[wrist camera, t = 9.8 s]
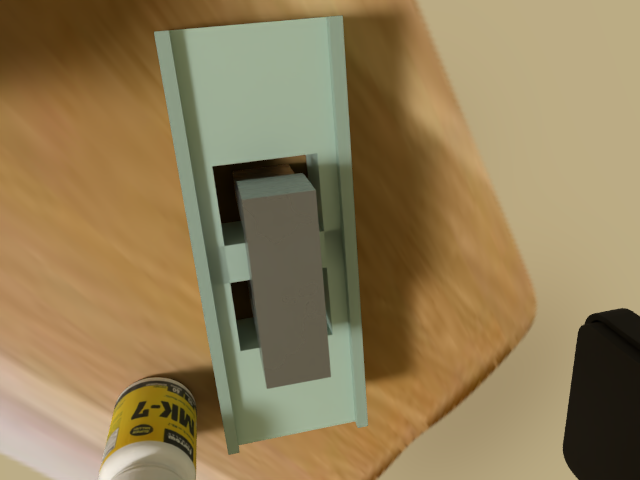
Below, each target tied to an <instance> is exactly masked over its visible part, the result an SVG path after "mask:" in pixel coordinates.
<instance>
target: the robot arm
mask: <svg viewBox="0 0 640 480" xmlns="http://www.w3.org/2000/svg"><path fill="white" fill-rule="evenodd" d="M563 454H564V458H565V461H566V463H567V465H568V467H569V468H570V470H571V471H572V472H573V473H574V475H575V476H576V477H577V478H578V479H579V480H640V316H638V315H637V314H635V313H634V312H633V311H631V310H628V309H623V308H621V309H616V310H610V311H605V312H600V313H595V314H592V315H590V316H589V317H588V318H587V319H586V322H585V325H583V326H581V327H580V329H579V331H578V337H577V344H576V352H575V360H574V366H573V374H572V381H571V389H570V396H569V404H568V412H567V420H566V427H565V434H564V441H563Z"/></svg>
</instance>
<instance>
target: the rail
mask: <svg viewBox="0 0 640 480" xmlns="http://www.w3.org/2000/svg"><path fill="white" fill-rule="evenodd" d="M154 35H155V41H156V47H157V52H158V58H159V64H160V69H161V75H162V81H163V86H164V92H165V98H166V103H167V109H168V115H169V120H170V126H171V132H172V137H173V143H174V149H175V154H176V160H177V166H178V171H179V177H180V183H181V188H182V194H183V200H184V205H185V211H186V217H187V222H188V228H189V234H190V239H191V245H192V251H193V256H194V262H195V268H196V273H197V279H198V285H199V290H200V296H201V302H202V307H203V313H204V319H205V324H206V330H207V336H208V341H209V347H210V353H211V358H212V364H213V370H214V375H215V381H216V387H217V392H218V398H219V404H220V409H221V415H222V421H223V426H224V432H225V438H226V443H227V449H228V455H230V454H235V453H239V445H242V444H247V443H252V442H257V441H261V440H266V439H271V438H276V437H281V436H286V435H291V434H295V433H300V432H305V431H310V430H315V429H320V428H325V427H330V426H334V425H339V424H344V423H349V422H354V421H355V422H356V425H357V427H358V428H360V427H365V426H368V419H367V403H366V387H365V371H364V355H363V338H362V322H361V306H360V290H359V273H358V257H357V241H356V225H355V209H354V192H353V176H352V160H351V144H350V127H349V111H348V95H347V79H346V62H345V46H344V30H343V16H331V17H320V18H309V19H297V20H285V21H274V22H262V23H251V24H239V25H227V26H216V27H204V28H193V29H181V30H169V31H157V32H154ZM299 155H306V162H307V173H308V180H309V182H310V183H311V184H312V186H313V187H314V188H315V190H316V198H317V211H318V223H319V235H320V247H321V259H322V272H323V284H324V296H325V308H326V320H327V333H328V345H329V357H330V369H331V377H328V378H323V379H318V380H313V381H307V382H302V383H297V384H291V385H286V386H281V387H275V388H270V389H267V387H266V382H265V377H264V372H263V367H262V362H261V357H260V351H259V344H258V338H257V333H256V328H255V323H254V318H253V317H251V318H245V319H239V320H236V315H235V309H234V302H233V296H232V289H231V283H233V282H239V281H245V280H250V276H249V269H248V261H247V254H246V246H245V239H244V232H243V227H242V222H241V221H236V222H229V223H222V224H221V218H220V211H219V205H218V198H217V192H216V185H215V179H214V172H213V166H219V165H227V164H235V163H243V162H251V161H259V160H267V159H275V158H283V157H291V156H299Z"/></svg>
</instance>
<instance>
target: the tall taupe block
mask: <svg viewBox="0 0 640 480" xmlns="http://www.w3.org/2000/svg"><path fill="white" fill-rule="evenodd" d="M232 173H233V181H234V188H235V195H236V201H237V206H238V210H239V214H240V218H241V222H242V227H243V232H244V239H245V246H246V254H247V261H248V269H249V276H250V280H247V284H248V291H249V298H250V303H251V308H252V313H253V318H254V323H255V328H256V333H257V338H258V344H259V351H260V357H261V362H262V367H263V372H264V377H265V382H266V387H267V389H270V388H275V387H281V386H286V385H291V384H297V383H302V382H307V381H313V380H318V379H323V378H328V377H331V369H330V357H329V345H328V333H327V320H326V308H325V296H324V284H323V272H322V259H321V247H320V235H319V223H318V211H317V198H316V190H315V188H314V187H313V186H312V184H311V183H310V182H309V180H308V179H307V178H306V176H305V175H304V174H303V173H298V174H294V172H293V171H292V169H291V168H290V166H289V165H288V164H284V165H276V166H268V167H260V168H252V169H243V170H235V171H232Z"/></svg>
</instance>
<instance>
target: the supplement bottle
mask: <svg viewBox="0 0 640 480" xmlns="http://www.w3.org/2000/svg"><path fill="white" fill-rule="evenodd" d="M196 439H197V409H196V403H195V400H194V397H193V395H192V394H191V392H190V391H189V390H188V389H187V388H186V387H185V386H184V385H182V384H181V383H179V382H177V381H175V380H172V379H168V378H161V377H152V378H146V379H142V380H139V381H137V382H135V383H133V384H132V385H130V386H129V387H127V388H126V389H125V390H124V391H123V392H122V393H121V395H120V396H119V398H118V400H117V402H116V405H115V408H114V413H113V417H112V421H111V425H110V429H109V434H108V438H107V442H106V446H105V451H104V455H103V459H102V463H101V468H100V472H99V479H98V480H196Z"/></svg>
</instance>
